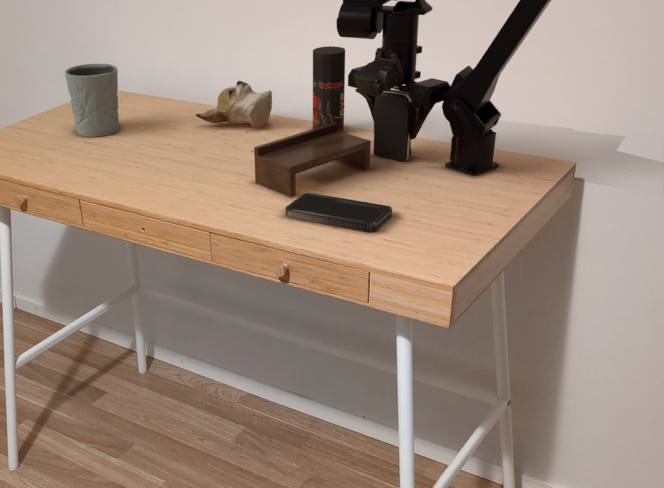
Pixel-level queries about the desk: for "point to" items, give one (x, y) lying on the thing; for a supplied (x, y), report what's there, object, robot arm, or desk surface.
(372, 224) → the phone
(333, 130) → the shelf
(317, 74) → the deodorant
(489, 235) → the desk surface
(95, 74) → the green planter pot
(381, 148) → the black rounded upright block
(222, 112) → the ceramic sculpture
